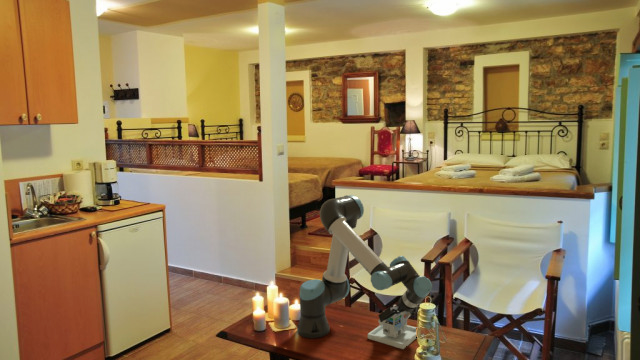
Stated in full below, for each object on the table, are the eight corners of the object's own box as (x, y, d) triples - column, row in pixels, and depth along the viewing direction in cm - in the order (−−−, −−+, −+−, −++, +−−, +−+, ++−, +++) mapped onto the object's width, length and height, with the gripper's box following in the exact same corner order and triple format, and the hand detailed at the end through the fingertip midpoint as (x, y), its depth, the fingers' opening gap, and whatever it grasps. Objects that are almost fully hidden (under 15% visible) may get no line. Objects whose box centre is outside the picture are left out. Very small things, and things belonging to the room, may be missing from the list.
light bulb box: (394, 338, 220) (394, 315, 219) (382, 334, 225) (381, 311, 223) (407, 330, 228) (407, 307, 227) (395, 326, 233) (395, 304, 231)
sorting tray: (367, 338, 225) (367, 333, 225) (387, 324, 239) (387, 319, 239) (403, 349, 214) (403, 344, 214) (422, 333, 228) (422, 329, 228)
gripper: (388, 313, 206) (371, 333, 222) (437, 303, 215) (417, 323, 231) (382, 296, 210) (365, 317, 226) (430, 287, 219) (411, 308, 235)
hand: (392, 320), depth 228 cm, fingers closed on light bulb box, 12 cm apart
